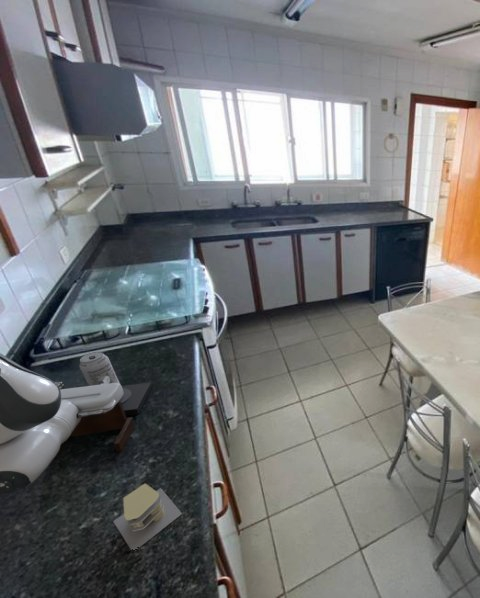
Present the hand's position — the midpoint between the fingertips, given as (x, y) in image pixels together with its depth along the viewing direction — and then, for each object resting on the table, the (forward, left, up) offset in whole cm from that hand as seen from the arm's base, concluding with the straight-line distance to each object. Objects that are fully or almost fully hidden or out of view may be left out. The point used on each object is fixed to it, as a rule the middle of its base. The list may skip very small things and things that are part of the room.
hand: (83, 381), depth 84 cm
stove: (0, +8, -15) cm, 17 cm away
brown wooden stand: (0, -7, -15) cm, 16 cm away
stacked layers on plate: (+20, -32, -15) cm, 41 cm away
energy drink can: (0, +8, -13) cm, 15 cm away
